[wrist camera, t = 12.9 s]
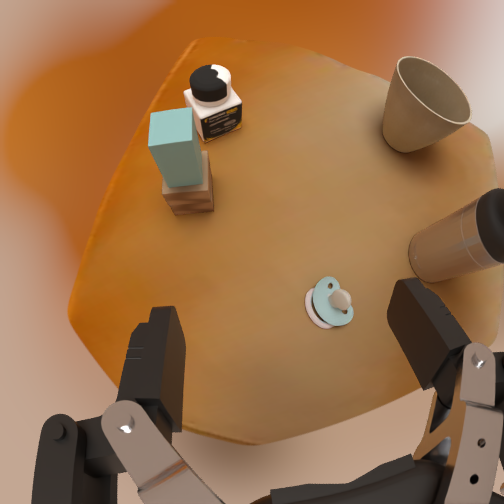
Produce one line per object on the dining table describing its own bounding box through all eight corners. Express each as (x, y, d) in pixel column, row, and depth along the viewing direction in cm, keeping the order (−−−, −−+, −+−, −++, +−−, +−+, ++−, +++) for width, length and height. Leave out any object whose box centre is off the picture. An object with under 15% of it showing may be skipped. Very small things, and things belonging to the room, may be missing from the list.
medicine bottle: (204, 143, 47) (196, 97, 35) (188, 116, 48) (178, 69, 37) (242, 127, 48) (243, 79, 36) (224, 102, 49) (221, 54, 38)
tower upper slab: (210, 164, 42) (207, 150, 38) (210, 202, 41) (207, 190, 37) (170, 168, 42) (164, 154, 38) (168, 205, 40) (162, 194, 36)
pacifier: (320, 337, 41) (353, 315, 42) (331, 340, 35) (369, 315, 36) (295, 294, 42) (329, 273, 43) (303, 290, 36) (342, 267, 37)
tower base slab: (211, 176, 46) (209, 164, 42) (214, 211, 44) (211, 201, 41) (174, 180, 45) (169, 168, 42) (175, 215, 44) (169, 205, 40)
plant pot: (440, 157, 49) (484, 116, 34) (395, 179, 47) (442, 132, 32) (399, 102, 52) (431, 54, 36) (350, 116, 50) (379, 58, 34)
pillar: (201, 154, 38) (191, 107, 28) (202, 183, 37) (191, 140, 27) (168, 158, 38) (151, 113, 28) (168, 187, 37) (148, 146, 27)
